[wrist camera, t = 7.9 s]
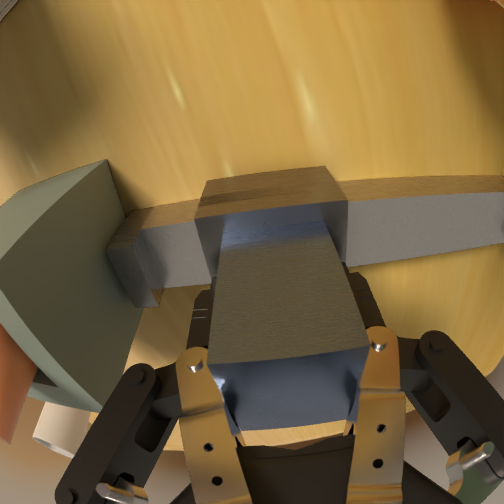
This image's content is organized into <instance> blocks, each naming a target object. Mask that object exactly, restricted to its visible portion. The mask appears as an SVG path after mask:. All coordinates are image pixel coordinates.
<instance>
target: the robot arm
mask: <svg viewBox="0 0 504 504" xmlns="http://www.w3.org/2000/svg"><path fill="white" fill-rule="evenodd" d="M341 263H342V266H343V269H344V271H345V274H346V276H347V279H348V282H349V284H350V287H351V290H352V292H353V295H354V298H355V300H356V303H357V306H358V309H359V312H360V314H361V317H362V320H363V323H364V326H365V329H366V332H367V335H368V338H369V341H370V344H371V346H370V350H369V353H368V357H367V360H366V364H365V367H364V370H363V372H360V373H359V374H358V377H357V381H356V393H355V398H354V401H350V403H349V406H348V413H347V420H346V425H345V430H344V435H343V436H339V437H333V438H327V439H325V440H322V441H320V442H317V443H314V444H312V445H309V446H306V447H304V448H301V449H298V450H291V449H284V448H277V447H270V446H264V445H262V446H246V444H245V441H244V438H243V436H242V434H241V431H240V428H239V424H238V421H237V418H236V416H235V415H234V414H232V413H231V411H230V409H229V407H228V405H227V403H226V399H225V395H224V393H223V391H222V389H221V388H218V386H217V384H216V382H215V380H214V378H213V376H212V374H211V372H210V370H209V368H208V366H207V364H206V363H207V354H208V345H209V336H210V328H211V319H212V311H213V303H214V295H215V287H216V280H217V277H212V281H211V288H210V290H202V291H201V292H200V294H199V295H198V296H197V298H196V299H195V304H194V309H193V310H194V311H193V314H192V320H191V325H190V331H189V337H188V342H187V348H186V350H185V351H183V352H182V353H181V354H180V355H179V357H178V358H177V361H176V362H175V363H173V364H171V365H168V366H165V367H161V368H158V369H155V370H154V369H153V368H152V367H151V366H150V365H148V364H145V363H139V364H135V365H133V366H131V367H130V368H128V369H127V370H126V372H125V373H124V374H123V376H122V378H121V379H120V381H119V382H118V384H117V386H116V387H115V389H114V390H113V392H112V394H111V395H110V397H109V398H108V400H107V402H106V403H105V405H104V406H103V408H102V410H101V411H100V413H99V415H98V416H97V418H96V420H95V421H94V423H93V425H92V426H91V428H90V430H89V431H88V433H87V435H86V436H85V438H84V440H83V441H82V443H81V445H80V447H79V448H78V450H77V452H76V454H75V455H74V457H73V459H72V461H71V462H70V464H69V466H68V468H67V469H66V471H65V473H64V475H63V477H62V478H61V480H60V482H59V484H58V486H57V488H56V490H55V500H56V504H148V496H147V494H146V492H145V490H144V489H143V488H144V485H145V484H146V482H147V480H148V478H149V476H150V474H151V472H152V470H153V468H154V466H155V464H156V462H157V460H158V458H159V456H160V454H161V452H162V450H163V448H164V446H165V444H166V442H167V440H168V438H169V436H170V434H171V432H172V430H173V428H174V426H175V424H176V422H177V420H178V418H179V425H180V431H181V437H182V442H183V447H184V453H185V457H186V462H187V467H188V472H189V476H190V481H191V483H190V484H189V485H188V486H187V487H186V488H185V489H184V490H183V491H182V492H181V493H180V494H179V495H178V496H177V497H176V498H175V499H174V500H173V501H172V502H171V503H170V504H481V502H483V501H484V500H485V499H486V498H487V496H489V495H490V494H491V493H492V492H493V491H494V489H496V488H497V486H498V485H499V484H500V483H501V482H502V481H503V480H504V400H503V399H502V398H501V397H500V395H499V394H498V393H497V391H496V390H495V389H494V388H493V387H492V386H491V384H490V383H489V382H488V381H487V379H486V378H485V377H484V376H483V375H482V373H481V372H480V371H479V370H478V369H477V368H476V367H475V365H474V364H473V363H472V362H471V361H470V360H469V359H468V357H467V356H466V355H465V354H464V353H463V352H462V351H461V350H460V349H459V347H458V346H457V345H456V344H455V343H454V342H453V341H452V340H451V339H450V338H449V337H448V336H447V335H446V334H445V333H443V332H440V331H436V330H433V331H428V332H426V333H425V334H423V335H422V337H421V338H420V339H409V338H401V337H398V336H396V335H395V333H394V332H393V331H392V330H390V329H388V328H387V327H386V325H385V323H384V321H383V318H382V316H381V313H380V311H379V308H378V306H377V304H376V301H375V299H374V298H373V294H372V292H371V291H370V287H369V285H368V283H367V280H366V279H365V278H364V277H363V276H362V275H361V274H359V273H358V272H356V273H349V270H348V268H347V265H346V263H345V262H341ZM405 395H406V396H407V398H408V399H409V400H410V402H411V403H412V404H413V406H414V407H415V409H416V410H417V411H418V413H419V414H420V415H421V417H422V418H423V420H424V421H425V422H426V424H427V425H428V426H429V428H430V429H431V431H432V432H433V434H434V435H435V436H436V438H437V439H438V441H439V442H440V443H441V445H442V446H443V448H444V449H445V451H446V452H447V453H448V455H449V458H448V460H447V463H446V472H447V475H448V477H449V481H450V485H449V489H448V491H446V490H445V489H443V488H442V487H440V486H439V485H437V484H436V483H435V482H433V481H432V480H430V479H429V478H428V477H426V476H425V475H423V474H422V473H421V472H419V471H418V470H416V469H415V468H414V467H412V466H411V465H410V464H408V463H407V462H406V461H404V445H405V415H406V400H405Z"/></svg>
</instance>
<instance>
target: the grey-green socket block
mask: <svg viewBox="0 0 504 504" xmlns="http://www.w3.org/2000/svg"><path fill="white" fill-rule="evenodd" d="M126 219H127V218H126V215H125V213H124V210H123V207H122V205H121V202H120V199H119V196H118V193H117V190H116V187H115V185H114V182H113V179H112V176H111V172H110V169H109V166H108V163H107V160H106V159H105V160H102V161H99V162H96V163H92V164H89V165H86V166H83V167H80V168H77V169H74V170H71V171H69V172H66V173H63V174H60V175H57V176H55V177H52V178H49V179H47V180H44V181H42V182H39V183H37V184H34V185H32V186H29V187H27V188H24V189H22V190H20V191H18V192H17V193H16V194H14V195H13V196H12V197H11V198H10V199H8V200H7V201H6V202H5V203H4V204H2V205H1V206H0V323H1V324H2V326H3V327H4V328H5V330H6V331H7V332H8V333H9V335H10V336H11V337H12V338H13V339H14V341H15V342H16V343H17V344H18V345H19V346H20V348H21V349H22V350H23V351H24V352H25V353H26V354H27V356H28V357H29V358H30V359H31V360H32V361H33V362H34V363H35V364H36V365H37V366H38V367H39V368H38V370H37V372H36V375H35V377H34V379H33V382H32V384H31V387H30V389H29V392H28V394H27V396H28V397H31V398H35V399H39V400H42V401H46V402H50V403H54V404H58V405H62V406H66V407H71V408H76V409H81V410H86V411H91V412H97V413H100V411H101V410H102V408H103V406H104V405H105V403H106V402H107V400H108V398H109V397H110V395H111V394H112V392H113V390H114V389H115V387H116V386H117V384H118V382H119V381H120V379H121V378H122V375H123V372H124V368H125V365H126V361H127V358H128V355H129V352H130V348H131V345H132V342H133V339H134V336H135V332H136V329H137V326H138V323H139V320H140V317H141V314H142V311H143V309H144V308H135V307H134V305H133V304H132V302H131V300H130V298H129V296H128V294H127V292H126V290H125V289H124V287H123V285H122V283H121V281H120V279H119V277H118V275H117V273H116V271H115V269H114V267H113V265H112V262H111V260H110V258H109V256H108V254H107V252H106V249H107V247H108V246H109V244H110V243H111V241H112V239H113V238H114V236H115V235H116V233H117V232H118V230H119V229H120V227H121V226H122V224H123V223H124V221H125V220H126Z"/></svg>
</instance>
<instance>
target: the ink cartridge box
mask: <svg viewBox="0 0 504 504" xmlns="http://www.w3.org/2000/svg"><path fill="white" fill-rule="evenodd" d="M17 1H18V0H0V21H1V20H2V19H3V17H4V16H5V15H6V14H7V13H8V11H9V10H10V9H11V8H12V7H13V6H14V4H15V3H16V2H17Z"/></svg>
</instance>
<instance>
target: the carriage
mask: <svg viewBox="0 0 504 504" xmlns="http://www.w3.org/2000/svg"><path fill="white" fill-rule="evenodd" d="M194 221H195V225H196V228H197V232H198V236H199V239H200V243H201V246H202V250H203V253H204V257H205V260H206V263H207V267H208V270H209V274H210V277H211V280H212V277H217V280H216V287H215V295H214V303H213V311H212V319H211V328H210V336H209V345H208V354H207V363H206V364H207V366H208V368H209V370H210V372H211V374H212V376H213V378H214V380H215V382H216V384H217V386H218V388H221V389H222V391H223V393H224V395H225V399H226V403H227V405H228V407H229V409H230V411H231V413H232V414H234V415H235V416H236V418H237V421H238V424H239V427H240V429H241V431H247V430H265V429H278V428H288V427H298V426H306V425H313V424H320V423H327V422H333V421H339V420H344V419H347V413H348V406H349V403H350V401H354V398H355V393H356V381H357V377H358V374H359V373H360V372H363V370H364V367H365V364H366V360H367V357H368V353H369V350H370V346H371V344H370V341H369V338H368V335H367V332H366V329H365V326H364V323H363V320H362V317H361V314H360V312H359V309H358V306H357V303H356V300H355V298H354V295H353V292H352V290H351V287H350V284H349V282H348V279H347V276H346V274H345V271H344V269H343V266H342V263H341V262H345V263H346V250H347V228H348V199H347V197H346V196H345V194H344V193H343V191H342V190H341V188H340V187H339V185H338V184H337V182H336V181H335V179H334V178H333V177H332V175H331V174H330V172H329V171H328V169H327V168H326V167H325V166H319V167H308V168H298V169H289V170H280V171H271V172H263V173H255V174H248V175H241V176H234V177H227V178H221V179H214V180H208V181H207V182H206V185H205V188H204V190H203V193H202V196H201V199H200V202H199V205H198V208H197V211H196V214H195V217H194Z"/></svg>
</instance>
